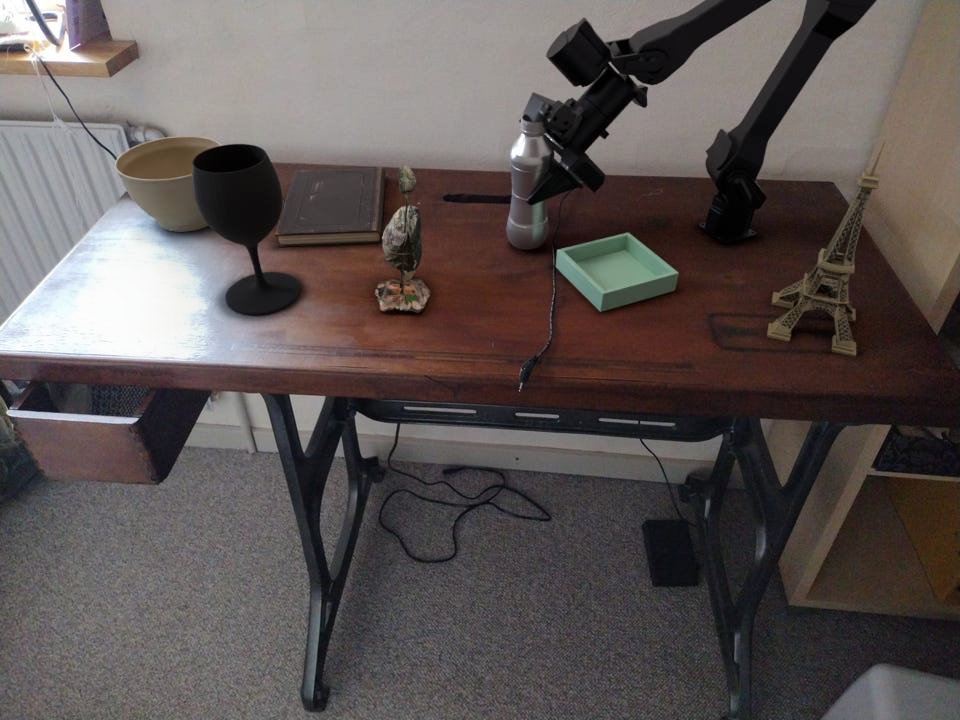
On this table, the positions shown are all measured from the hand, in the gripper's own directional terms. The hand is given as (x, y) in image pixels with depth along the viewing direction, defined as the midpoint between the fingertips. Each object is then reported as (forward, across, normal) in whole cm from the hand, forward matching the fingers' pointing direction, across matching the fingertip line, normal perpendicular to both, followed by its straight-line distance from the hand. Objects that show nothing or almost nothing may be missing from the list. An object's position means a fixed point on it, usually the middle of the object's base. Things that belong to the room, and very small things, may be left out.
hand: (520, 194), depth 99 cm
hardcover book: (+24, -21, -11) cm, 34 cm away
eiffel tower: (-14, +32, +27) cm, 44 cm away
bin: (-1, +13, +13) cm, 19 cm away
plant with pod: (+20, +7, -8) cm, 23 cm away
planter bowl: (+40, -26, -28) cm, 55 cm away
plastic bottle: (+5, 0, +7) cm, 9 cm away
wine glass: (+34, 0, -21) cm, 40 cm away
